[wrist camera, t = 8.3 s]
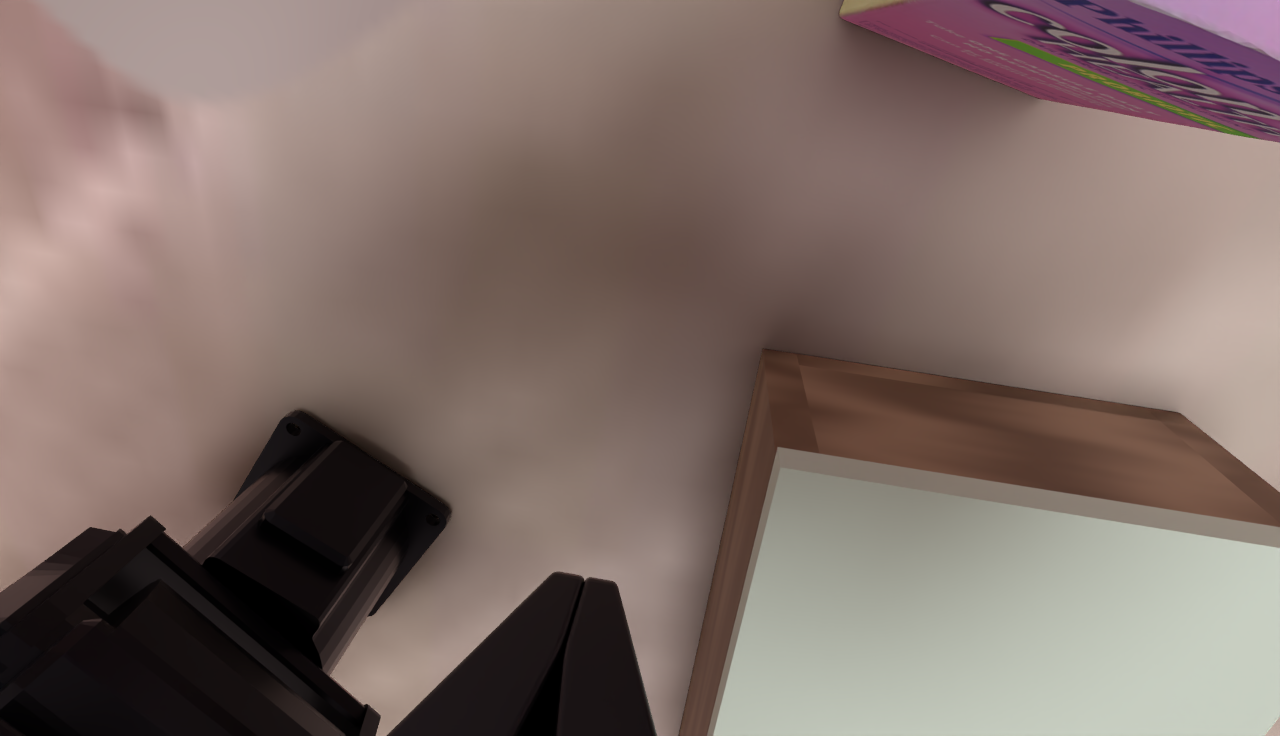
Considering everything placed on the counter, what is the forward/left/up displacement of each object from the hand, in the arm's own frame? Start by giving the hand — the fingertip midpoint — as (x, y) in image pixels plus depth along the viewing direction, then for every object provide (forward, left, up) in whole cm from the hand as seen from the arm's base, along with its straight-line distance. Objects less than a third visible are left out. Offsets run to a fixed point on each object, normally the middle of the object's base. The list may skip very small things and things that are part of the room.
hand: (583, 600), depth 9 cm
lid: (-4, -13, -6) cm, 15 cm away
